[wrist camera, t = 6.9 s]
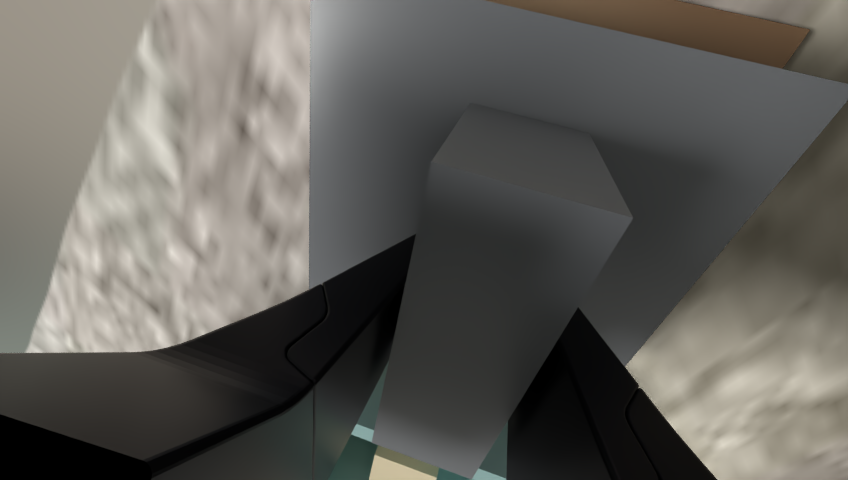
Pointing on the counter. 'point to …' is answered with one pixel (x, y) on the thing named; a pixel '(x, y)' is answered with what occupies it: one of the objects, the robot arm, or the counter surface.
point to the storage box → (397, 473)
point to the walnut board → (681, 26)
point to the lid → (528, 189)
